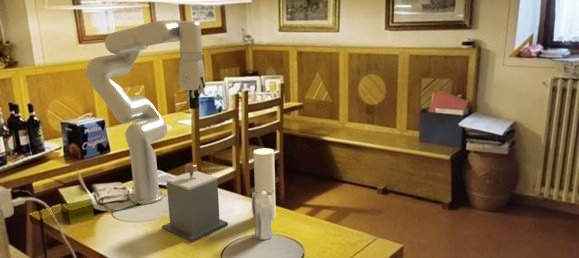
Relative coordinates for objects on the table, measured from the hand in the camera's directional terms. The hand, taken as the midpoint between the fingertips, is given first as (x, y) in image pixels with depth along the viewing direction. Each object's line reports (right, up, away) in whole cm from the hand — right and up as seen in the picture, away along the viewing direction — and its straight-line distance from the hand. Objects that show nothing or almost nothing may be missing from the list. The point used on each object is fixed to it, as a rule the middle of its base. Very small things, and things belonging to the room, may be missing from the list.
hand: (194, 108), depth 172 cm
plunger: (+1, -36, -8) cm, 37 cm away
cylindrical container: (+26, -40, +1) cm, 47 cm away
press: (+2, -42, -6) cm, 42 cm away
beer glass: (+26, -43, -13) cm, 52 cm away
